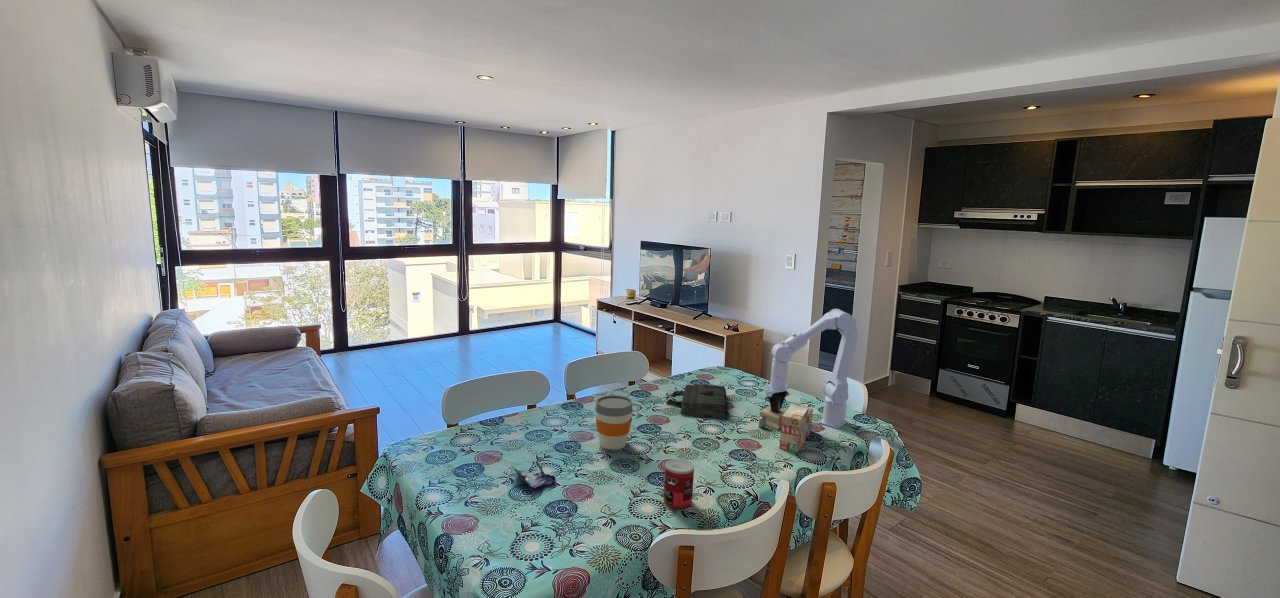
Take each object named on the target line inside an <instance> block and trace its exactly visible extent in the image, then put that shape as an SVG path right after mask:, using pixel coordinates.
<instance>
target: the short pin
mask: <svg viewBox="0 0 1280 598" xmlns="http://www.w3.org/2000/svg"><path fill="white" fill-rule="evenodd" d="M759 416H760V415H759ZM758 418H759V417H758ZM766 427H767V426H766V417H764V416H760V418H759V419H758V428H759V429H761V430H765V429H766Z"/></svg>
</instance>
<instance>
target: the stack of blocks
mask: <svg viewBox="0 0 1280 598" xmlns="http://www.w3.org/2000/svg"><path fill="white" fill-rule="evenodd" d="M813 410H814V408H813V407H809V406H805V405H800V404H790V405H789V406H788V408H787V411H786V412H785V413H784V414H783V415H782V424H781V428H780V436H779V437H780V438H779V446H778V448H779V450H784V451H787V452H791V453H796V454H798V452H799V451H800V449H801V448H802V447H803V445H804V443H805V441H806V439H808V437H809V435H810V433H812V423H813Z"/></svg>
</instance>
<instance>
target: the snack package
mask: <svg viewBox="0 0 1280 598" xmlns="http://www.w3.org/2000/svg"><path fill="white" fill-rule="evenodd" d="M535 464H536V466H538V468H539V471H534V472H527V471H525V470H524V469H522V470H520V469H519V470H517V468H515V466H513V465H512V464H511V468H512V469H513V470H514V472H515V474H516V475H517V476H518V477H519V478H520V479H521V481H522V482H523V483H525V485H526V484H527V485H528V486H529V487H530V489H531V490H532V491H534V490H535V489H537V488H538V487H543V488H546V486H547V487H550V486H552V484H554V483H556V482H557V480H556V476H554V475H550V474H546V473H545V471H544V470H543V466H542V465H541V464H540V461H538V460H536V461H535ZM528 477H529V478H530V479H531V480H532V481H531V480H529V478H528Z"/></svg>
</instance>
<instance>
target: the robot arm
mask: <svg viewBox="0 0 1280 598" xmlns="http://www.w3.org/2000/svg"><path fill="white" fill-rule="evenodd" d="M856 322H857V320H856V319H855V317H853V316H852V314H850V313H848V312H845V311H843V310H842V309H839V308H833V309H831V310H829V311H828V312H826V313H825V314H824V315H823V316H822V317H821V318H820V319H818V320H817V321H815V322H814V323H813V324H812V325H810V326H809V327H807V328H806V329H805V330H803V331H802V332H798V331H796V332H793V333H791V336H790V337H787V338H786V339H784V340H782V341H780V343H776V344H774V345H773V346H772V348H771V349H770V353H771V355H772V362H771V371H770V375H771V376H770V383H769V384H767V387H768V388H767V390H766V392H765V396H766V397H767V398H768V401H769V405H770V406H769V407H771V411H774V412H777V410H778V405H779V402H780V409H781V408H783V407H782V406H783V405H784V401H785V399H786V397H787V396H788V394H789V392H788V390H787V389H789V387H790V383H788V382H787V379H788V378H787V377H788V367H789V361H790V359H791V358H792V355H794V354H795V353H797V352H798V351H800V350H801V349H802V348H804V347H806V346H807V345H808V341H809V340H810V339H812V338H814V337H815V336H817V335H819V334H821V333H822V332H824V331H825V330H838V332H839V333H840V335H841V339H840V342H839V346H838V350H837V354H836V357H835V361H834V366H833V370H832V374H831V375H829V376H828V378H827V381H826V382H825V383H824V385H823V387H822V390H823V391H822V392H823V393H824V395H825V397H824V404H823V412H822V414H823V415H822V419H820V420H818V424H822V425H824V426H829V427H831V428H835V429H840V428H841V427H843V426H844V425H846V424H847V423H848V421H849V420H847V419H846V416H847V407H848V406H847V403H846V402H847V401H848V399H849V396H850V395H849V383H848V379H847V378H848V375H849V371H850V366H851V363H852V360H853V356H854V351H855V348H856V344H857V340H858V336H859V332H858V328H857V324H856ZM780 409H779V410H780Z"/></svg>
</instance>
